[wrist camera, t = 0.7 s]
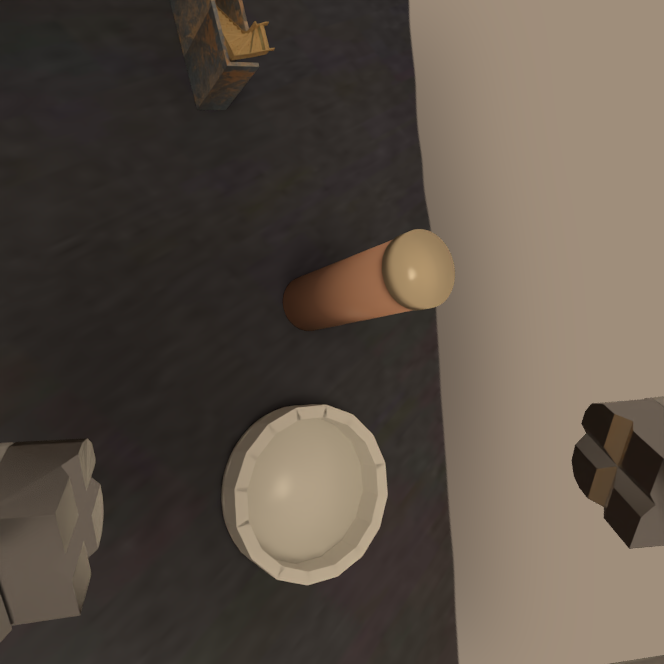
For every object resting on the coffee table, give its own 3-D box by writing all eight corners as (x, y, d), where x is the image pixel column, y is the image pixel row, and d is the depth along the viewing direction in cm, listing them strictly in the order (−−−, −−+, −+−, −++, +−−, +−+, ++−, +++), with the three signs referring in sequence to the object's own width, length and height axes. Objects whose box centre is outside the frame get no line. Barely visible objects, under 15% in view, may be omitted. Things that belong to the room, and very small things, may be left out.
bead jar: (272, 287, 48) (381, 243, 34) (318, 267, 51) (437, 219, 37) (296, 341, 49) (412, 320, 35) (340, 318, 51) (465, 290, 37)
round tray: (192, 456, 43) (204, 461, 40) (329, 378, 50) (348, 377, 47) (264, 608, 45) (281, 622, 42) (387, 511, 52) (408, 518, 49)
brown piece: (229, 111, 48) (275, 52, 40) (195, 112, 46) (237, 50, 38) (197, -17, 48) (237, -104, 39) (162, -21, 46) (197, -113, 38)
